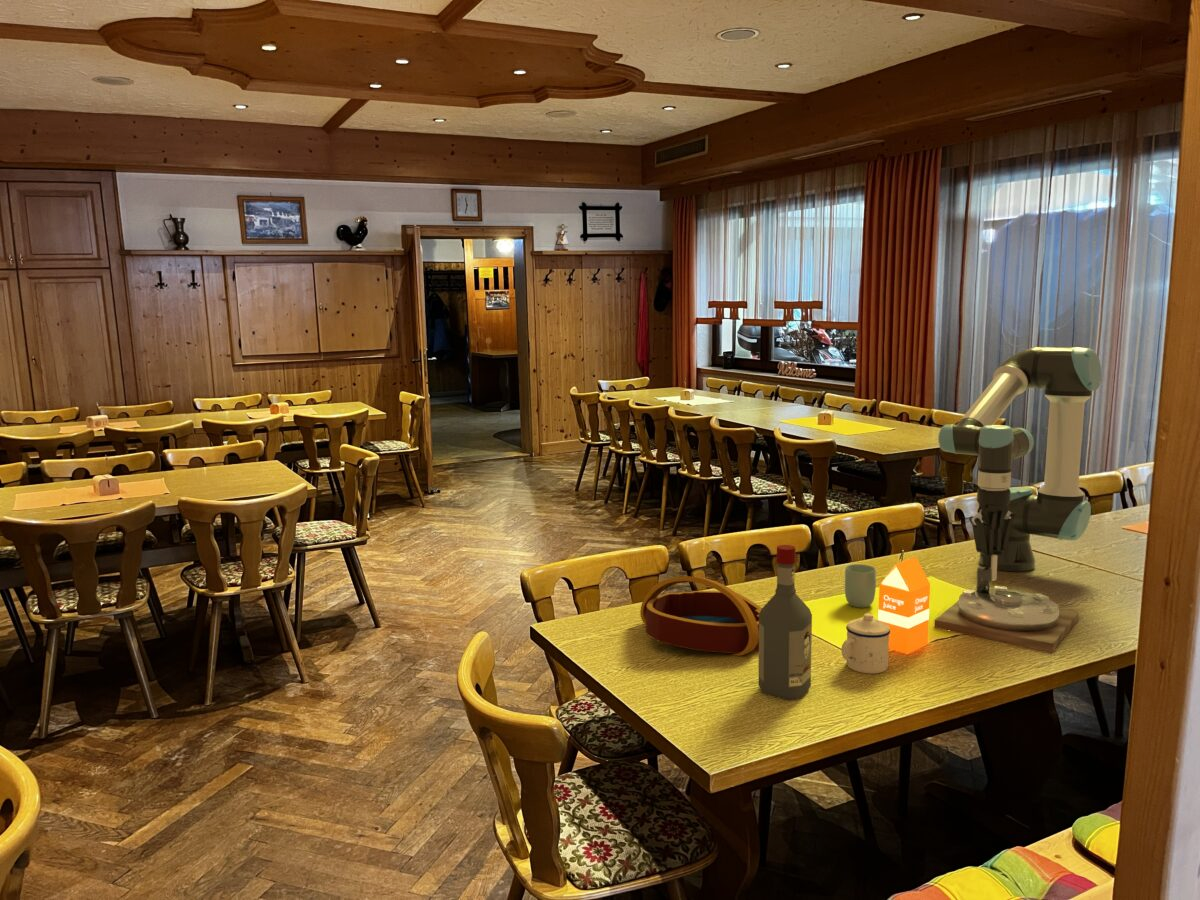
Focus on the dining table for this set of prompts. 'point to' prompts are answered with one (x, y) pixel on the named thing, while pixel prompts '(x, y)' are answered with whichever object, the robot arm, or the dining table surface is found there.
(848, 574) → the cup
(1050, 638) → the base plate
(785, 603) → the liquor
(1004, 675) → the dining table surface
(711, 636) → the decorative basket
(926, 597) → the orange juice
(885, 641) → the teacup with lid
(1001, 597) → the crank wheel
